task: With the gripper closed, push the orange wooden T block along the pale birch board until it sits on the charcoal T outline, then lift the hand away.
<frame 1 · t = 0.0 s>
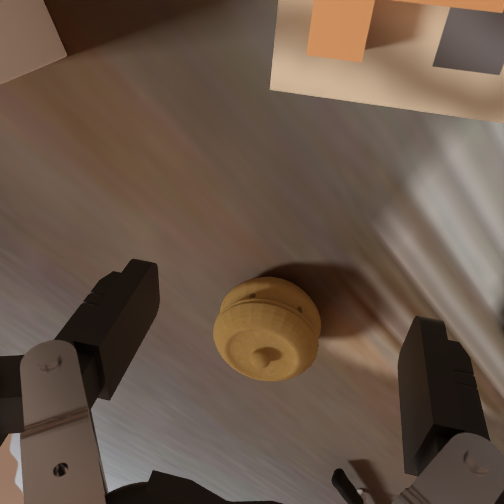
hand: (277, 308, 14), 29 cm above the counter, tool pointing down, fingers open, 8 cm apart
milk: (28, 28, 40), on the counter
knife: (365, 494, 75), on the counter
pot: (275, 299, 54), on the counter
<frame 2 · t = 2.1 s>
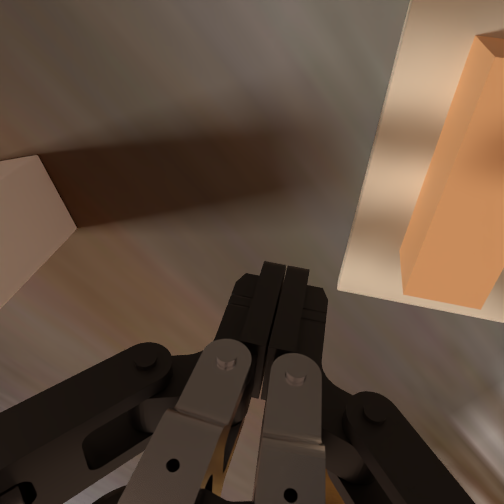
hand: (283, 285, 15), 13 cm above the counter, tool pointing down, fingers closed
milk: (27, 196, 32), on the counter
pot: (320, 466, 45), on the counter
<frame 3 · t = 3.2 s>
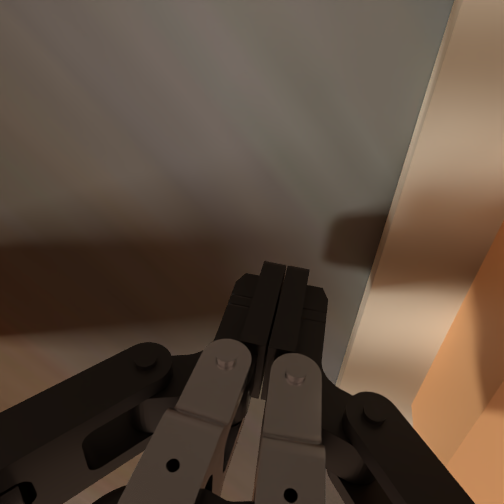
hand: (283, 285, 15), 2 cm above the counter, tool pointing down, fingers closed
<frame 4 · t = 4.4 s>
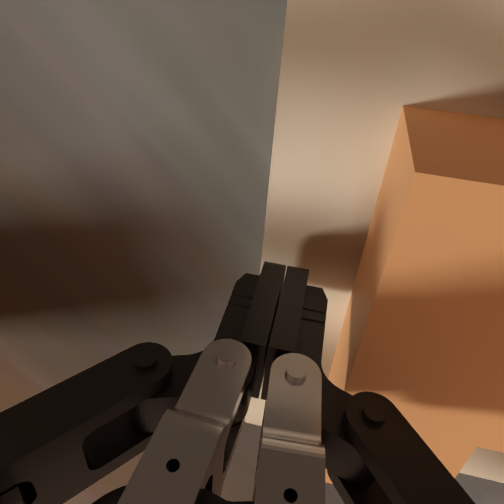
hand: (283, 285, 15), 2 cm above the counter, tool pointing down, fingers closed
t block: (476, 302, 15), point 1 cm above the counter, touching gripper
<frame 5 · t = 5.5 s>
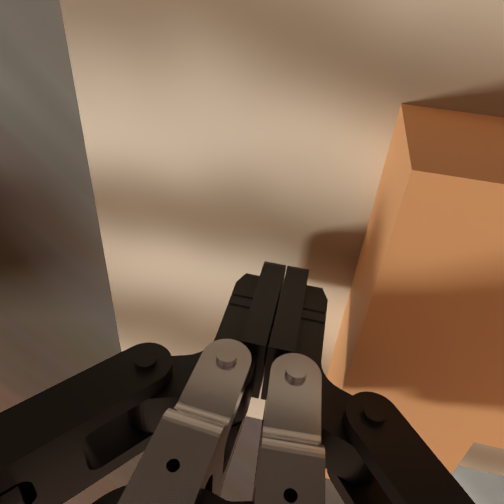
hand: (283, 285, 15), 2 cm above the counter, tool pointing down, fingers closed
t block: (474, 299, 15), point 1 cm above the counter, touching gripper, push board
push board: (459, 272, 15), on the counter
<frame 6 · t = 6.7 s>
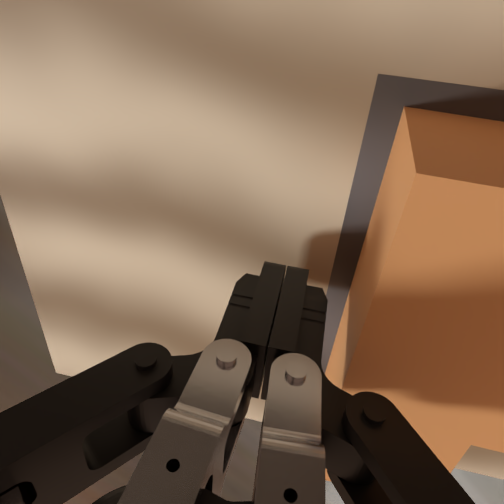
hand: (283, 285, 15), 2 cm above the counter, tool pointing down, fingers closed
t block: (472, 303, 15), point 1 cm above the counter, touching gripper, push board
push board: (347, 255, 16), on the counter
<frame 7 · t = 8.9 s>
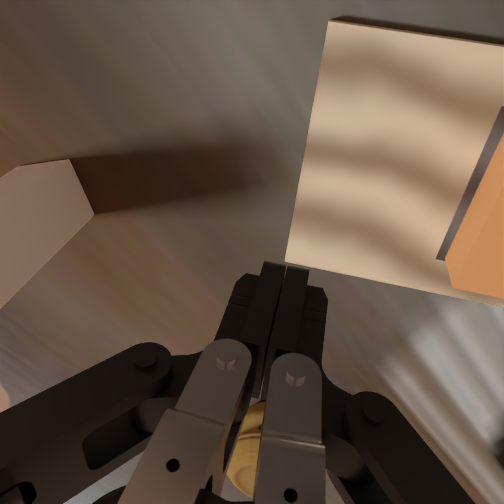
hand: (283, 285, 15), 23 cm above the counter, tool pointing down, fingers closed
milk: (58, 189, 43), on the counter
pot: (280, 416, 56), on the counter
push board: (469, 186, 34), on the counter
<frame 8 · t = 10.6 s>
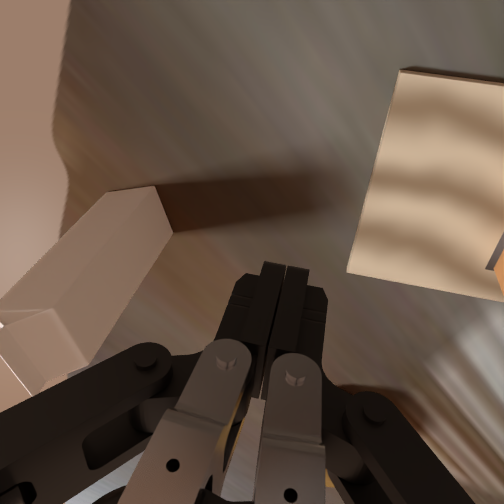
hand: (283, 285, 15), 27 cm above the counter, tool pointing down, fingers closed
milk: (141, 211, 48), on the counter
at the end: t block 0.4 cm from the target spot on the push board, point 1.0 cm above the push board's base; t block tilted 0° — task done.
